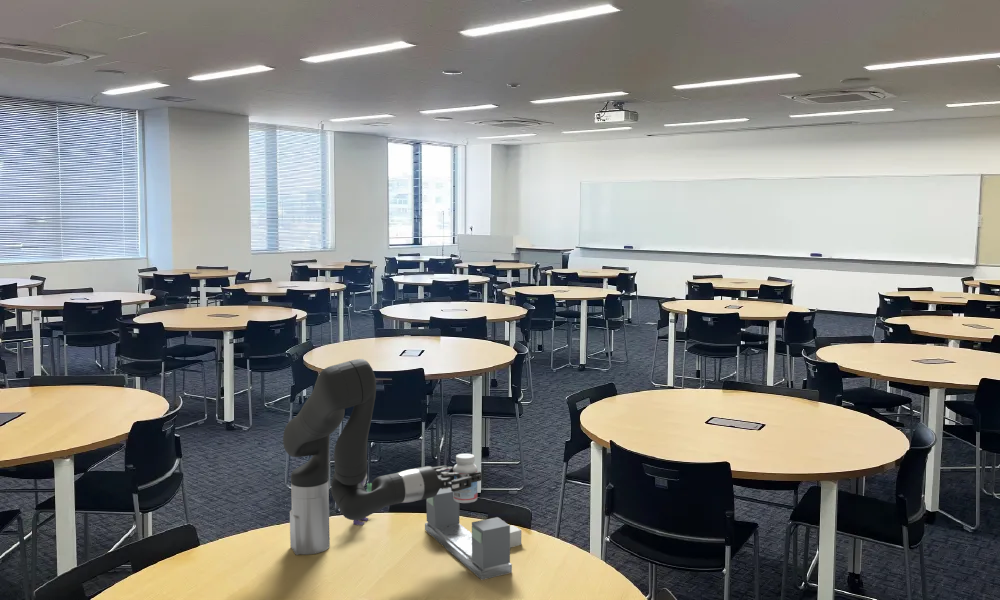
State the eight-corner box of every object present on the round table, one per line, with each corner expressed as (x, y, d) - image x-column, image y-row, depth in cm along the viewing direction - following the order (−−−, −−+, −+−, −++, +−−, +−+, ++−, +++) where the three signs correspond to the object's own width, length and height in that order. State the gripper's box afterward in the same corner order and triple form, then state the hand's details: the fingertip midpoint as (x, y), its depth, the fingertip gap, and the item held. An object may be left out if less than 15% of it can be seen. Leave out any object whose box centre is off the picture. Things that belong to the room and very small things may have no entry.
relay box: (502, 550, 187) (502, 535, 187) (493, 545, 190) (493, 530, 190) (521, 544, 191) (521, 529, 190) (512, 539, 194) (512, 525, 194)
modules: (482, 569, 170) (482, 531, 170) (425, 521, 200) (425, 488, 199) (509, 562, 174) (509, 525, 173) (450, 516, 204) (450, 484, 203)
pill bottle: (480, 502, 184) (480, 457, 183) (457, 505, 182) (457, 460, 181) (473, 494, 190) (473, 451, 189) (450, 497, 188) (450, 453, 187)
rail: (481, 579, 170) (481, 569, 170) (425, 530, 200) (424, 521, 200) (511, 572, 174) (511, 562, 174) (451, 524, 204) (451, 516, 204)
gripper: (430, 476, 171) (489, 464, 181) (400, 462, 183) (457, 451, 193) (430, 508, 172) (489, 494, 181) (400, 492, 183) (457, 480, 193)
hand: (473, 472), depth 187 cm, fingers closed on pill bottle, 6 cm apart
